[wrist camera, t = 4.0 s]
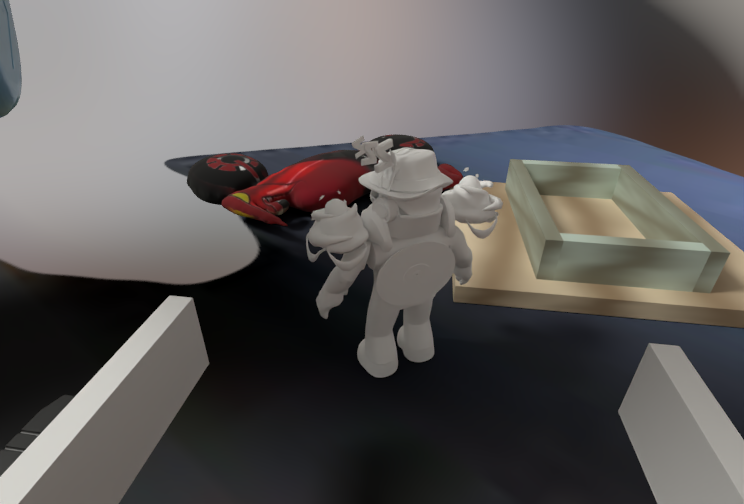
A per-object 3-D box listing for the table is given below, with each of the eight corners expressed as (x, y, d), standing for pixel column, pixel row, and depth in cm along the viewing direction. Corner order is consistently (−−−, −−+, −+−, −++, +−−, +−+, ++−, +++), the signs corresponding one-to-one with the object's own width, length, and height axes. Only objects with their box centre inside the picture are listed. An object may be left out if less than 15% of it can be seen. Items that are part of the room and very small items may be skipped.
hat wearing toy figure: (329, 410, 19) (313, 150, 13) (304, 354, 22) (282, 121, 16) (490, 353, 23) (538, 123, 16) (449, 311, 26) (476, 103, 20)
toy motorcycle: (191, 198, 43) (192, 249, 29) (182, 146, 41) (178, 174, 27) (412, 175, 52) (494, 206, 38) (413, 130, 50) (499, 146, 36)
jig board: (453, 301, 26) (460, 245, 24) (448, 191, 42) (452, 151, 40) (811, 333, 24) (852, 274, 22) (666, 204, 39) (683, 162, 37)
